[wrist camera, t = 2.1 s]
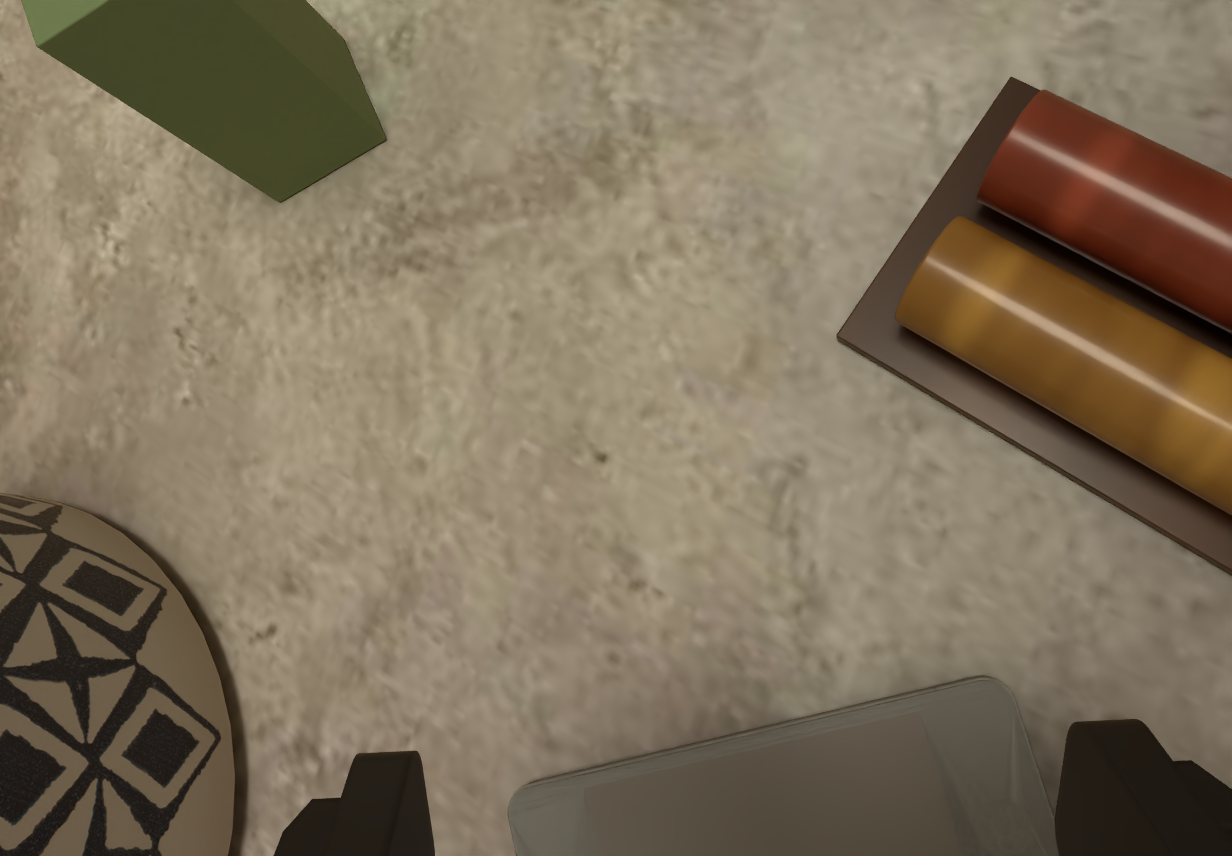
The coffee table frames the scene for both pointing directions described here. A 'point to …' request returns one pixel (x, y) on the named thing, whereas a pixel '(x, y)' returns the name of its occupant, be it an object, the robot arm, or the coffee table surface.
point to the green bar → (224, 79)
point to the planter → (103, 698)
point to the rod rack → (1075, 309)
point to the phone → (814, 788)
